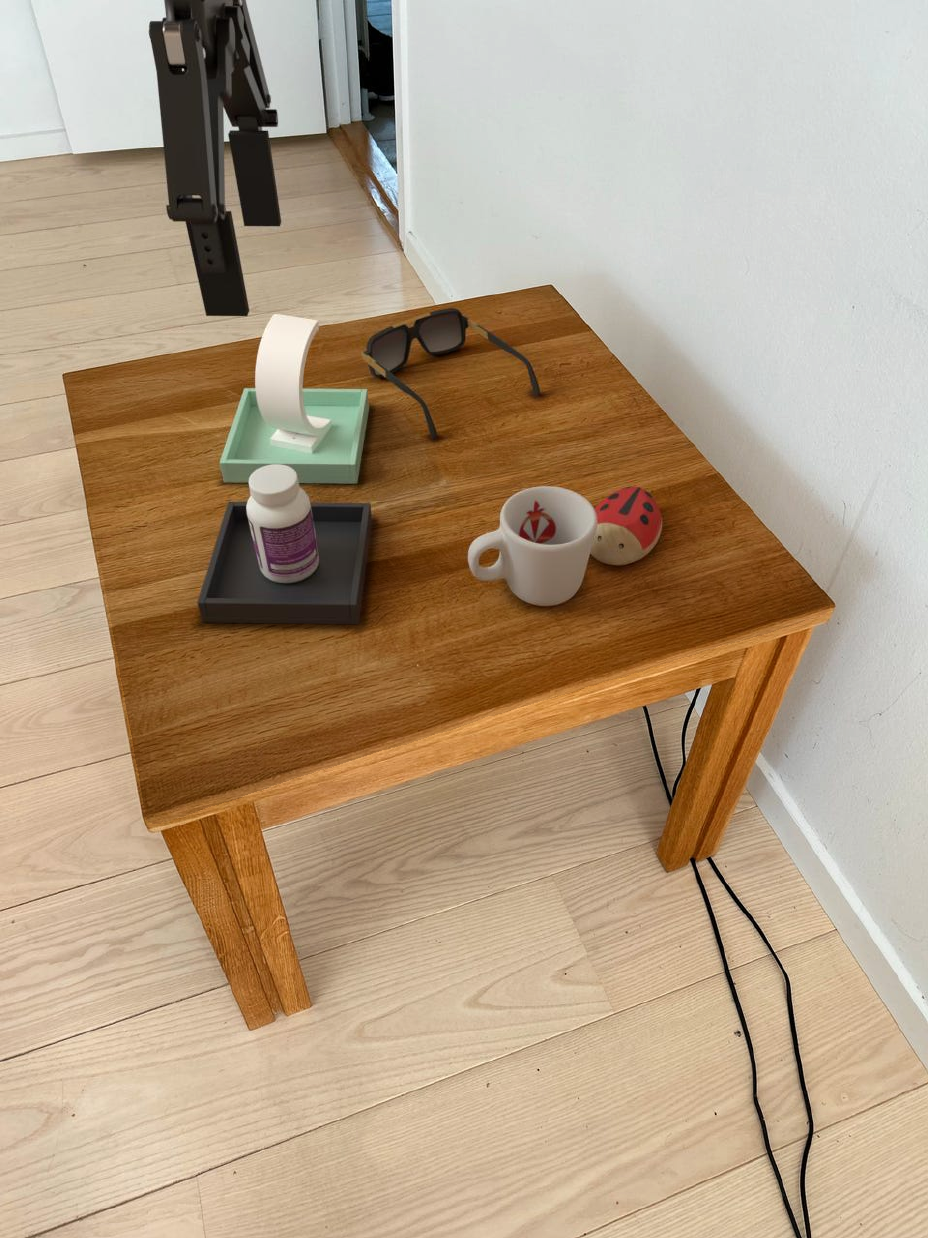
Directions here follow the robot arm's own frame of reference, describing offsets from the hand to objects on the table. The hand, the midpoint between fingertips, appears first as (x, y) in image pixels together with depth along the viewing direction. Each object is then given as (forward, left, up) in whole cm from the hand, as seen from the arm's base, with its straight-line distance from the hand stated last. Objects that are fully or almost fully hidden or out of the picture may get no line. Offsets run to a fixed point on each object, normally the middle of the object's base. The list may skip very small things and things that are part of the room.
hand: (246, 266), depth 65 cm
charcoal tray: (0, -3, -27) cm, 27 cm away
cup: (+21, -5, -27) cm, 34 cm away
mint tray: (-2, +16, -27) cm, 31 cm away
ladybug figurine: (+30, +2, -27) cm, 40 cm away
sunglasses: (+13, +27, -27) cm, 40 cm away
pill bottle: (0, -3, -26) cm, 26 cm away
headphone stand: (-2, +16, -26) cm, 31 cm away
